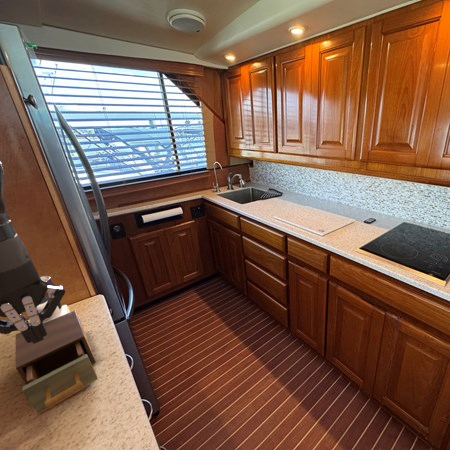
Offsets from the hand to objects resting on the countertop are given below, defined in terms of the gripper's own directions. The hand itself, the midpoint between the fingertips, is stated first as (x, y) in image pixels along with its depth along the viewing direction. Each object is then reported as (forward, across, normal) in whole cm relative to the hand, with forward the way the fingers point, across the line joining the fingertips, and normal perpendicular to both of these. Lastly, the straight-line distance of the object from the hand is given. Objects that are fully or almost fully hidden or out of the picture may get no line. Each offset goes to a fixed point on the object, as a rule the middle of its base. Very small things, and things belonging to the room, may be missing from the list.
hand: (38, 339), depth 47 cm
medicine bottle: (+17, -1, -26) cm, 31 cm away
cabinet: (+17, 0, -13) cm, 21 cm away
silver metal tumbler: (+17, 0, -34) cm, 38 cm away
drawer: (+16, 0, -3) cm, 16 cm away
